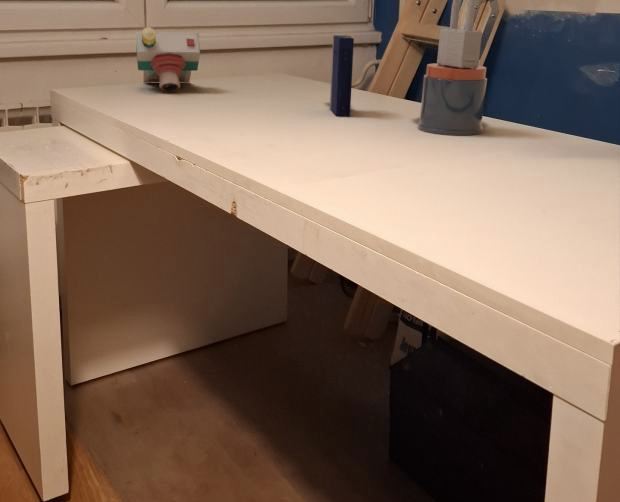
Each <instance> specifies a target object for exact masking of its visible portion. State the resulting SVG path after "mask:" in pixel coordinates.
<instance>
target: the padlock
mask: <svg viewBox="0 0 620 502" xmlns="http://www.w3.org/2000/svg"><path fill="white" fill-rule="evenodd" d="M465 1H466V14H465V15H466V16H465V22H464V29H463V28H459V27H458V26H459V17H460V8H461V4H462V2H463V0H452V5H451V10H450V11H451V12H450V22H449V28H446V27H441V28H440V30H439V38H438V39H439V40H438V48H437V59H436V63H438V64H443V65H444V66H446V65H448V66H450V67H453V66H454V67H459V68H460V69H462V68H475V69H476V68H478V66H479V63H480V55H481V45H482V38H483V31H481V30H480V29H479V30H475V29H474V21H475V13H476V0H465Z"/></svg>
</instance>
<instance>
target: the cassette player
mask: <svg viewBox="0 0 620 502" xmlns="http://www.w3.org/2000/svg"><path fill="white" fill-rule="evenodd" d="M354 42H355V38H354V37H352V36H351V35H349V34H348V35H346V34H332V48H331V49H332V50H331V67H330V68H331V69H330V92H329V93H330V94H329V110H330V111H331V112H332V113H333V114H334V115H335V116H336V117H350V116H351V103H352V84H353V67H354V66H353V65H354V46H355V45H354Z"/></svg>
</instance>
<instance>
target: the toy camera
mask: <svg viewBox="0 0 620 502" xmlns="http://www.w3.org/2000/svg"><path fill="white" fill-rule="evenodd" d="M154 29H155V28H153V27H150V26H147V27H143V30H142V31H136V32H135V34H136V35H135V38H136V40H135V42H136V44H135V45H136V46H135V47H136V62H137V71H143V79H142V81H143V83H158V84H159V85H158V86H159V88H160V89H161V90H162V91H166V92H174V91H178V90H179V89H180V88H181V83H190V81H191V75H192V71H198V69H199V62H200V57H201V48H200V35H199V33H198V32H170V31H169V32H168V31H165V32H164V31H155V30H154Z"/></svg>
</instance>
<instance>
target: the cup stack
mask: <svg viewBox="0 0 620 502" xmlns="http://www.w3.org/2000/svg"><path fill="white" fill-rule="evenodd" d="M486 76H487V67H486V66H484V65H478V68H476V69H475V68H462V69H460V68H459V67H454V66H453V67H450V66H448V65H446V66H444V65H443V64H438V63H437V62H436V63H428V64H426V71H425V74H424V75H423V82H422V92H421V93H422V94H421V103H420V104H421V105H420V114H419V122H417V124H416V125H417V127H416V128H417V129H418V130H419V131H422V132H426V133H429V134H435V135H436V134H437V135H446V136H474V135H475V136H476V135H479V134H481V133H483V131H484V126H482V125H483V124H482V123H483V117H484V109H485V102H486V101H485V99H486V92H487V84H488V78H487V77H486Z"/></svg>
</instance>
